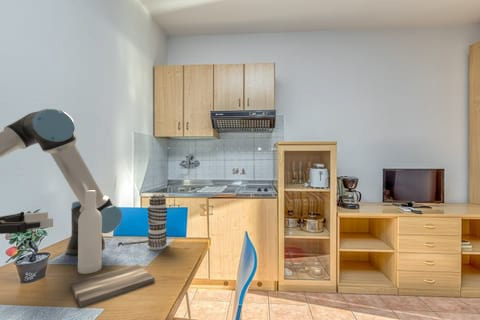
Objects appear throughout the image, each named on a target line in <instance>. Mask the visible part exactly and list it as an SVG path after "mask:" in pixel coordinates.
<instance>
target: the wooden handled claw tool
mask: <svg viewBox="0 0 480 320" xmlns="http://www.w3.org/2000/svg"><path fill="white" fill-rule="evenodd" d="M144 243H149V242H148V239H147V240H140V241H139V240H138V241H131V242H130V241H129V242H124V243H123V242H118V243H117V244H118V245H117V247H120V246H121V247H123V246H126V245H134V244H135V245H136V244H144Z"/></svg>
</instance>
